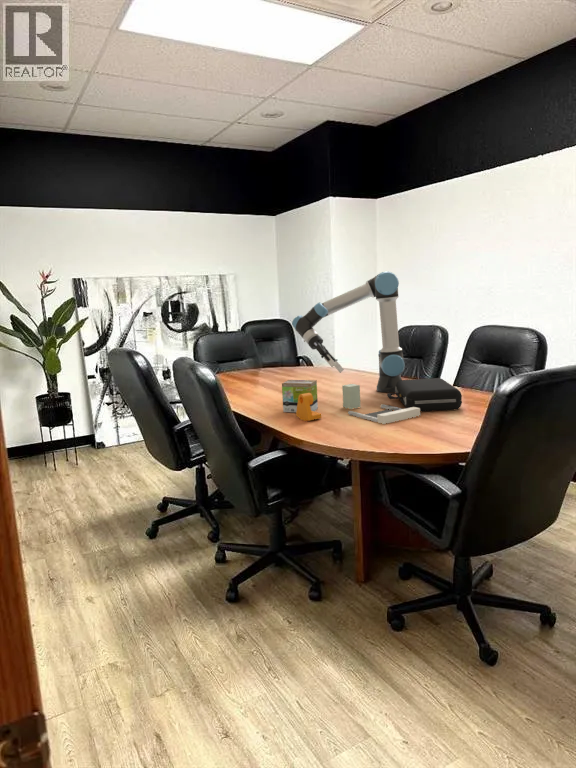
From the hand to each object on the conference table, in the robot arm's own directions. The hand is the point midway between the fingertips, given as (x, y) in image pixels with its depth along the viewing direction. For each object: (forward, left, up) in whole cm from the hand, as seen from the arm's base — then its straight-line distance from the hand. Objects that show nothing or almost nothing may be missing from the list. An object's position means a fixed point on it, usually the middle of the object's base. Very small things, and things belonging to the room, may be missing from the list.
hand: (338, 368), depth 276 cm
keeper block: (+2, +14, -18) cm, 22 cm away
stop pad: (+2, +38, -18) cm, 42 cm away
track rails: (+2, +35, -18) cm, 39 cm away
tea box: (+24, +2, -18) cm, 30 cm away
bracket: (+30, +19, -18) cm, 40 cm away
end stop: (+2, +48, -18) cm, 51 cm away
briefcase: (-26, +32, -18) cm, 45 cm away
